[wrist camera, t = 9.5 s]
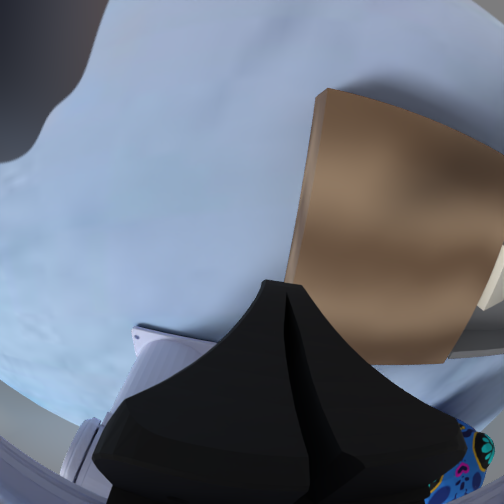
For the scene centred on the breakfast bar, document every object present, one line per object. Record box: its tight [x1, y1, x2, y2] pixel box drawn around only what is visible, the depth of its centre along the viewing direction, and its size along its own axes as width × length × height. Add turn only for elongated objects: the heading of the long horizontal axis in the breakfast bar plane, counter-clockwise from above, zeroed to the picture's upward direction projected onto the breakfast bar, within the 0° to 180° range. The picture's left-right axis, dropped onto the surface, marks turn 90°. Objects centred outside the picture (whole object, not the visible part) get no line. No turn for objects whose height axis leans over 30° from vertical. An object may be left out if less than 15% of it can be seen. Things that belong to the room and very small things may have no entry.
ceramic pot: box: [424, 419, 495, 504], centre depth 22 cm, size 18×18×15 cm
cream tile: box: [477, 241, 504, 311], centre depth 16 cm, size 5×5×2 cm
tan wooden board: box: [284, 88, 504, 365], centre depth 16 cm, size 16×14×4 cm
